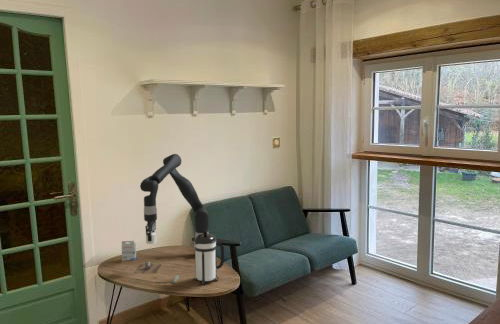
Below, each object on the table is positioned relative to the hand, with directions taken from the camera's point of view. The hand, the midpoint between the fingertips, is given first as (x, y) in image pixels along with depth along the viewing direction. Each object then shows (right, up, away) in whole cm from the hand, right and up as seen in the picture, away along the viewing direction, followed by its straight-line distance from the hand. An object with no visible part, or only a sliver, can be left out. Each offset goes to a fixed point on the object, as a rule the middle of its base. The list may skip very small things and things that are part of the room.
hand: (151, 239), depth 229 cm
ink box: (-21, -19, +22) cm, 36 cm away
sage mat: (+11, -22, -7) cm, 26 cm away
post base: (-4, -21, +5) cm, 22 cm away
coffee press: (+35, -22, -7) cm, 43 cm away
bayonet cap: (0, -2, 0) cm, 2 cm away
